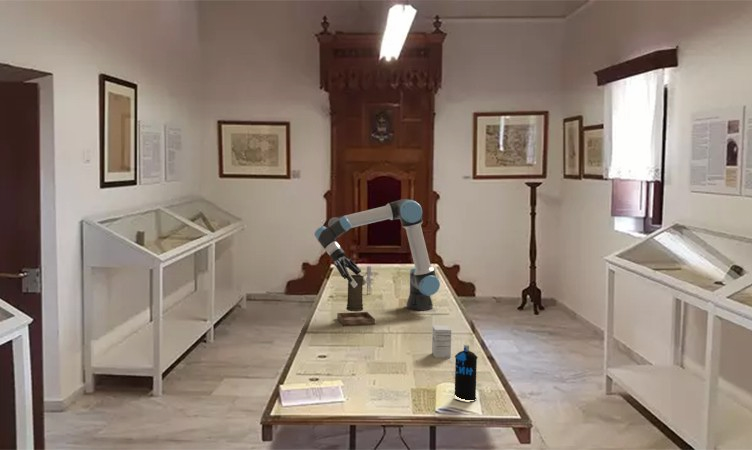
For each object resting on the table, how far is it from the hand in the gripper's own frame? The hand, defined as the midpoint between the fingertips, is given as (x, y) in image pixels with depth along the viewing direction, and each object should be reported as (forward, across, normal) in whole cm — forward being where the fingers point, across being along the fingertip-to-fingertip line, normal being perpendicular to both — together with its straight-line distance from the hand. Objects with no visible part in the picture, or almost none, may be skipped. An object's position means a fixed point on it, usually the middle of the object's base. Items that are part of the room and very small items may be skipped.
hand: (360, 284), depth 378 cm
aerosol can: (+81, +78, +53) cm, 124 cm away
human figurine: (-10, -65, -38) cm, 76 cm away
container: (+7, 0, -12) cm, 14 cm away
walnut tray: (+12, 0, -16) cm, 20 cm away
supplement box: (+58, +32, +30) cm, 73 cm away
